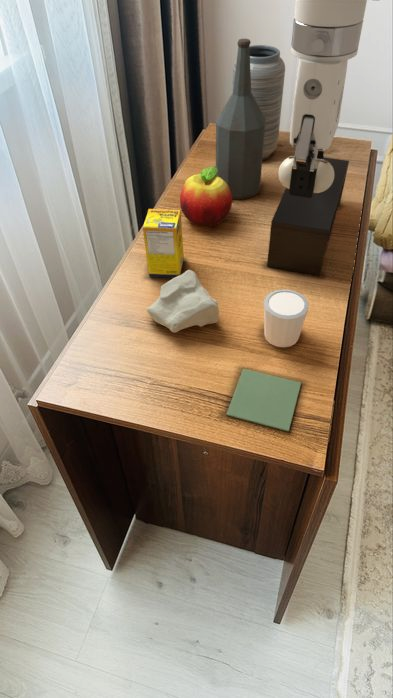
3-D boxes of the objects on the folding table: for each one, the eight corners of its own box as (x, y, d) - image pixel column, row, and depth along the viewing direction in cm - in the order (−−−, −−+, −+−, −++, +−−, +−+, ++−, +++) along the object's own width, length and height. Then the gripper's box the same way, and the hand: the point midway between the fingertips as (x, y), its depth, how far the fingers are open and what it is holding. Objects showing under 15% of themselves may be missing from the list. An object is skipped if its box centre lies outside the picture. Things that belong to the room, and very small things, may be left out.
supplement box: (183, 259, 96) (181, 208, 88) (180, 278, 92) (177, 228, 84) (153, 257, 97) (148, 207, 89) (148, 277, 93) (142, 226, 85)
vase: (274, 165, 121) (284, 61, 104) (227, 162, 122) (229, 58, 105) (278, 144, 128) (289, 43, 111) (234, 141, 130) (237, 41, 113)
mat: (301, 383, 75) (301, 382, 74) (288, 431, 69) (288, 430, 69) (243, 369, 77) (243, 368, 76) (226, 415, 71) (226, 414, 71)
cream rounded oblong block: (333, 185, 70) (339, 155, 67) (328, 201, 67) (334, 170, 64) (281, 178, 72) (284, 148, 69) (273, 192, 69) (276, 162, 66)
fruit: (172, 227, 104) (169, 182, 96) (194, 201, 110) (192, 158, 103) (219, 238, 100) (220, 193, 93) (239, 211, 107) (241, 167, 100)
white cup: (255, 343, 80) (257, 311, 75) (267, 316, 85) (271, 284, 80) (296, 355, 78) (302, 323, 73) (307, 326, 83) (313, 294, 78)
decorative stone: (136, 312, 84) (158, 257, 81) (173, 317, 91) (194, 266, 88) (178, 343, 77) (203, 284, 75) (214, 345, 84) (238, 291, 82)
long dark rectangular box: (339, 204, 108) (349, 160, 101) (320, 276, 92) (329, 230, 84) (294, 197, 110) (300, 154, 103) (266, 266, 94) (271, 220, 87)
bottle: (247, 174, 118) (255, 28, 96) (268, 193, 112) (282, 42, 90) (208, 184, 115) (207, 36, 93) (227, 204, 109) (231, 51, 87)
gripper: (348, 64, 50) (320, 222, 63) (368, 19, 61) (341, 162, 74) (275, 58, 52) (263, 213, 65) (307, 15, 63) (291, 156, 76)
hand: (304, 185), depth 69 cm, fingers closed on cream rounded oblong block, 4 cm apart
